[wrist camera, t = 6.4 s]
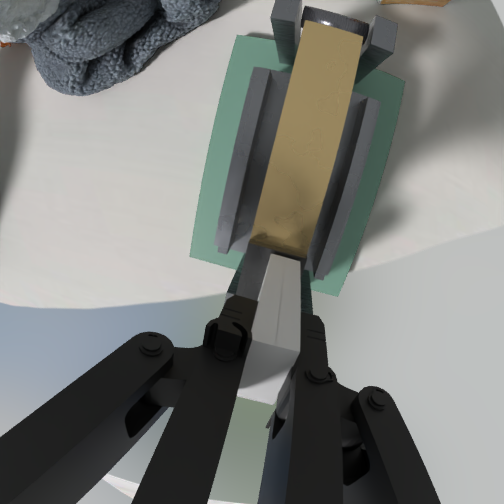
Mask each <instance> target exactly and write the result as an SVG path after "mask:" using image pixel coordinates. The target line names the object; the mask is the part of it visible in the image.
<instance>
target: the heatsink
mask: <svg viewBox="0 0 504 504" xmlns="http://www.w3.org/2000/svg"><path fill="white" fill-rule="evenodd" d="M301 15H302V0H275V4H274V7H273V10H272V14H271V17H270V18H271V23H272V28H273V32H274V37H275V42H276V47H277V53H278V58H279V63H282V64H287V65H291V66H294V62H295V58H296V54H297V51H298V47H299V43H300V35H301V27H300V25H301ZM397 25H398V24H397V23H395V22H392V21H390V20H387V19H385V18H382V17H380V16H377V15H376V16H375V17H374V19H373V20H372V22H371V23H370V28H369V33H368V37H367V40H366V42H365V44H364V45H362V46H361V52H360V57H359V62H358V66H357V71H356V76H355V80H354V84H358V83H359V82H360V81H361V80H362V79H363V78H364V77H366V76H367V75H368V74H369V73H370V72H371V71H373V70H374V69H375V68H376V67H377V66H378V65H380V64H381V63H382V62H383V61H384V60H385V59H387V58H388V57H389V56H390V55H391V54H393V52H394V46H395V39H396V33H397ZM290 78H291V74H290V73H285V72H281V71H276V70H271V69H267V68H262V67H255V66H254V67H253V71H252V75H251V78H250V82H249V86H248V90H247V94H246V98H245V102H244V106H243V110H242V114H241V119H240V123H239V127H238V131H237V136H236V140H235V144H234V149H233V153H232V158H231V162H230V167H229V171H228V176H227V180H226V185H225V190H224V195H223V200H222V204H221V209H220V214H219V219H218V224H217V230H216V235H215V240H214V245H216V246H218V251H217V252H219V253H223V254H226V255H227V254H228V252H229V250H230V249H231V250H234V251H238V252H242V253H244V254H243V257H242V259H241V261H240V263H239V266H238V268H237V270H236V273H235V275H234V277H233V279H232V282H231V284H230V286H229V289H228V291H227V294H226V299H225V302H226V300H227V299H228V298H230V297H231V296H233V295H236V291H237V287H238V283H239V279H240V275H241V271H242V267H243V263H244V259H245V254H246V250H247V246H248V243H249V240H250V237H251V233H252V229H253V225H254V221H255V217H256V213H257V209H258V205H259V201H260V197H261V193H262V189H263V185H264V181H265V177H266V173H267V169H268V165H269V161H270V157H271V153H272V149H273V145H274V141H275V137H276V133H277V129H278V125H279V121H280V117H281V113H282V109H283V105H284V101H285V97H286V94H287V90H288V86H289V82H290ZM380 105H381V102H380V101H378V100H375V99H373V98H370V97H367V96H364V95H361V94H359V93H356V92H353V91H352V94H351V98H350V103H349V107H348V111H347V115H346V119H345V123H344V127H343V131H342V135H341V139H340V143H339V147H338V151H337V154H336V158H335V162H334V166H333V169H332V173H331V176H330V180H329V184H328V187H327V190H326V194H325V197H324V201H323V204H322V208H321V211H320V214H319V217H318V221H317V224H316V227H315V230H314V234H313V237H312V240H311V243H310V246H309V249H308V252H307V262H306V265H305V268H304V271H303V274H302V276H301V279H300V282H301V312H304V313H308V314H312V315H313V310H312V309H313V308H312V296H311V285H310V274H309V271H312V272H313V274H314V278H315V279H319V280H324V277H325V275H327V276H328V274H329V272H330V269H331V266H332V264H333V261H334V258H335V256H336V253H337V250H338V247H339V244H340V242H341V239H342V236H343V233H344V230H345V227H346V224H347V221H348V218H349V215H350V212H351V209H352V206H353V203H354V200H355V197H356V194H357V190H358V187H359V184H360V181H361V177H362V174H363V170H364V167H365V163H366V160H367V156H368V153H369V149H370V145H371V142H372V138H373V134H374V130H375V126H376V122H377V118H378V114H379V109H380ZM224 305H225V303H224Z"/></svg>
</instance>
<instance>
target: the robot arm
mask: <svg viewBox="0 0 504 504" xmlns="http://www.w3.org/2000/svg"><path fill="white" fill-rule="evenodd" d="M325 341H326V337H325V327H324V324H323V322H322V321H321V319H320V317H319V316H316V315H312V314H308V313H304V312H301V282H300V261H297V260H293V259H289V258H286V257H282V256H279V255H275V254H271V255H270V259H269V262H268V266H267V269H266V273H265V276H264V280H263V283H262V287H261V290H260V293H259V297H258V300H257V301H256V300H253V299H249V298H245V297H242V296H238V295H233V296H231V297H230V298H228V299H227V300H226V302H225V305H224V307H223V309H222V311H221V314H220V316H219V318H216V319H213V320H211V321H210V322H209V323H208V324H207V325H206V328H205V334H204V340H203V345H201V346H199V347H195V348H178V347H174V346H173V344H172V342H171V340H169V339H168V338H167V337H166V336H164V335H162V334H159V333H156V332H143V333H140V334H138V335H136V336H134V337H132V338H131V339H130V340H128V341H127V342H126V343H124V344H123V345H122V346H120V347H119V348H118V349H117V350H115V351H114V352H112V353H111V354H110V355H108V356H107V357H106V358H104V359H103V360H102V361H100V362H99V363H98V364H96V365H95V366H94V367H92V368H91V369H90V370H88V371H87V372H86V373H85V374H83V375H82V376H80V377H79V378H78V379H77V380H75V381H74V382H72V383H71V384H70V385H69V386H67V387H66V388H65V389H63V390H62V391H61V392H59V393H58V394H57V395H55V396H54V397H53V398H51V399H50V400H49V401H47V402H46V403H45V404H43V405H42V406H41V407H39V408H38V409H37V410H35V411H34V412H33V413H32V414H30V415H29V416H27V417H26V418H25V419H24V420H22V421H21V422H20V423H18V424H17V425H16V426H14V427H13V428H12V429H11V430H9V431H8V432H7V433H5V434H4V435H2V436H1V437H0V504H76V503H77V502H78V501H79V500H80V499H81V498H82V497H83V496H84V495H85V494H86V493H87V492H89V490H91V489H92V488H93V487H94V486H95V485H96V484H97V483H98V482H99V481H100V480H101V479H102V478H103V477H104V476H105V475H106V474H107V473H108V472H109V471H110V470H111V469H112V467H113V466H114V465H115V464H116V463H117V462H118V461H119V460H120V459H121V458H122V457H123V456H124V455H125V454H126V453H127V452H128V451H129V450H130V449H131V448H132V447H133V446H134V444H135V443H136V442H137V441H138V440H139V439H140V438H141V437H142V436H143V435H144V434H145V433H146V432H147V431H148V430H149V428H150V427H151V426H152V425H153V424H154V423H155V422H156V421H157V420H158V419H159V417H160V416H161V415H162V414H163V413H164V412H165V411H166V410H167V409H168V407H174V409H173V412H172V414H171V416H170V418H169V421H168V423H167V425H166V427H165V429H164V432H163V434H162V436H161V438H160V441H159V443H158V445H157V447H156V449H155V452H154V454H153V456H152V458H151V461H150V463H149V465H148V467H147V470H146V472H145V474H144V476H143V478H142V481H141V483H140V485H139V487H138V490H137V492H136V494H135V497H134V499H133V501H132V503H131V504H207V502H208V499H209V495H210V492H211V488H212V485H213V481H214V478H215V474H216V470H217V467H218V463H219V460H220V456H221V452H222V449H223V445H224V441H225V438H226V434H227V430H228V427H229V423H230V419H231V415H232V412H233V408H234V404H235V400H236V396H239V397H243V398H247V399H251V400H255V401H259V402H263V403H267V404H272V405H274V403H275V401H276V399H277V397H278V399H277V407H276V409H275V411H274V412H273V414H272V416H271V418H270V420H269V421H268V423H267V425H266V428H269V427H270V431H269V438H268V444H267V451H266V457H265V463H264V469H263V475H262V481H261V487H260V492H259V499H258V503H257V504H441V503H440V501H439V498H438V496H437V493H436V491H435V488H434V486H433V484H432V481H431V479H430V477H429V475H428V472H427V470H426V467H425V465H424V463H423V461H422V459H421V456H420V454H419V452H418V450H417V448H416V445H415V444H414V441H413V439H412V437H411V435H410V433H409V431H408V429H407V426H406V424H405V422H404V420H403V418H402V416H401V414H400V412H399V410H398V408H397V406H396V404H395V402H394V400H393V399H392V397H391V396H390V395H389V393H387V392H386V391H385V390H383V389H381V388H379V387H375V386H368V387H364V388H363V389H362V390H361V391H360V392H359V393H358V392H356V391H353V390H351V389H348V388H346V387H344V386H342V385H341V384H339V383H338V382H337V378H336V375H335V373H334V372H333V371H332V370H331V368H330V367H328V358H327V347H326V342H325Z"/></svg>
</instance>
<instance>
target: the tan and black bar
mask: <svg viewBox="0 0 504 504" xmlns="http://www.w3.org/2000/svg"><path fill="white" fill-rule="evenodd" d="M300 27H302V28H303V31H302V35H301V39H300V43H299V47H298V51H297V54H296V58H295V62H294V66H293V70H292V74H291V78H290V82H289V86H288V90H287V94H286V97H285V101H284V105H283V109H282V113H281V117H280V121H279V125H278V129H277V133H276V137H275V141H274V145H273V149H272V153H271V157H270V161H269V165H268V169H267V173H266V177H265V181H264V185H263V189H262V193H261V197H260V201H259V205H258V209H257V213H256V217H255V221H254V225H253V229H252V233H251V237H250V240H249V243H248V246H247V250H246V254H245V259H244V263H243V267H242V271H241V275H240V279H239V283H238V287H237V291H236V295H238V296H242V297H245V298H249V299H253V300H256V301H257V300H258V297H259V293H260V290H261V287H262V283H263V280H264V276H265V273H266V269H267V266H268V262H269V259H270V255H271V254H275V255H279V256H282V257H286V258H289V259H293V260H297V261H300V279H301V276H302V274H303V271H304V268H305V265H306V262H307V252H308V249H309V246H310V243H311V240H312V237H313V234H314V230H315V227H316V224H317V221H318V217H319V214H320V211H321V208H322V204H323V201H324V197H325V194H326V190H327V187H328V184H329V180H330V176H331V173H332V169H333V166H334V162H335V158H336V154H337V151H338V147H339V143H340V139H341V135H342V131H343V127H344V123H345V119H346V115H347V111H348V107H349V103H350V98H351V94H352V90H353V85H354V80H355V76H356V71H357V66H358V62H359V57H360V52H361V46H362V45H364V44H365V42H366V40H367V37H368V33H369V28H370V25H369V24H368V23H365V22H362V21H359V20H356V19H353V18H350V17H347V16H344V15H340V14H337V13H333V12H330V11H326V10H322V9H318V8H314V7H309V6H305V7H304V10H303V14H302V19H301V25H300Z"/></svg>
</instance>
